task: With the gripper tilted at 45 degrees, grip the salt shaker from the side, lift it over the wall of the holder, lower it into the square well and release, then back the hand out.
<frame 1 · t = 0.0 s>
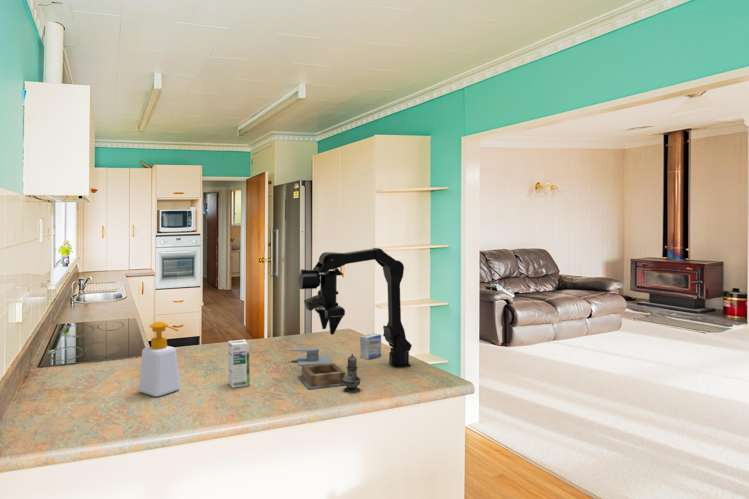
hand: (328, 331, 195), 15 cm above the countertop, tool pointing down, fingers open, 9 cm apart
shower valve: (310, 362, 210), on the countertop
syrup box: (238, 385, 181), on the countertop
medicine box: (370, 357, 218), on the countertop
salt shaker: (351, 390, 177), on the countertop
holder: (322, 381, 186), on the countertop
soap bottle: (164, 393, 172), on the countertop
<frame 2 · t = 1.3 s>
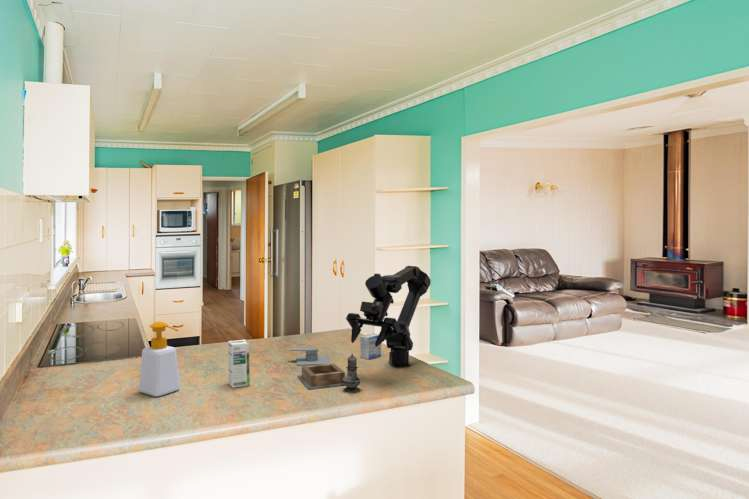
hand: (363, 344, 183), 13 cm above the countertop, tool tilted 45°, fingers open, 9 cm apart
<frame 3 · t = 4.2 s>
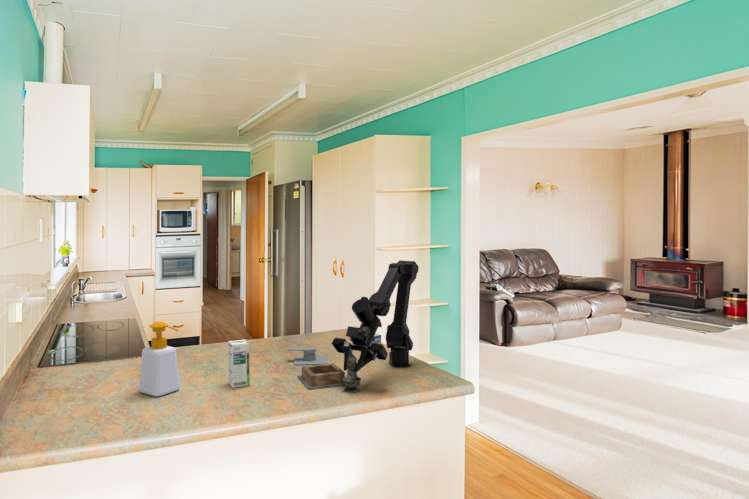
hand: (349, 370, 176), 7 cm above the countertop, tool tilted 45°, fingers closed on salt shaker, 4 cm apart
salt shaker: (351, 390, 177), on the countertop, touching gripper
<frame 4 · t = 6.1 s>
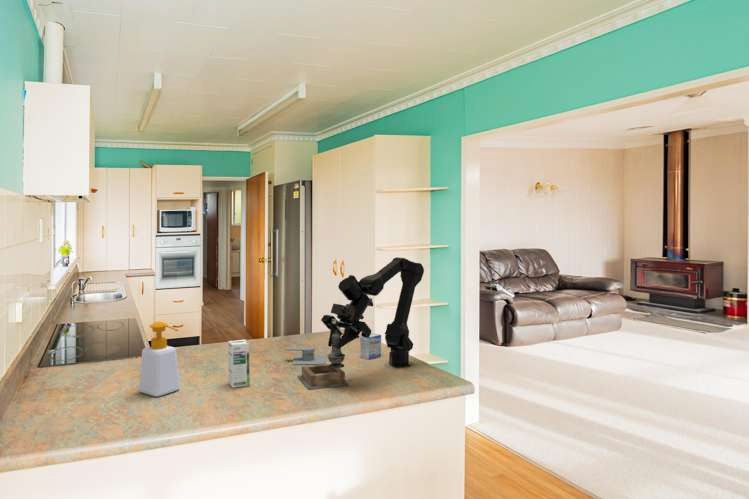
hand: (333, 347, 179), 13 cm above the countertop, tool tilted 45°, fingers closed on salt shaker, 4 cm apart
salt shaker: (336, 366, 181), point 6 cm above the countertop, touching gripper
when the fingers open (8 cm above the countertop, at t = 8.1 s): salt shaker drops 1 cm, resting on holder.
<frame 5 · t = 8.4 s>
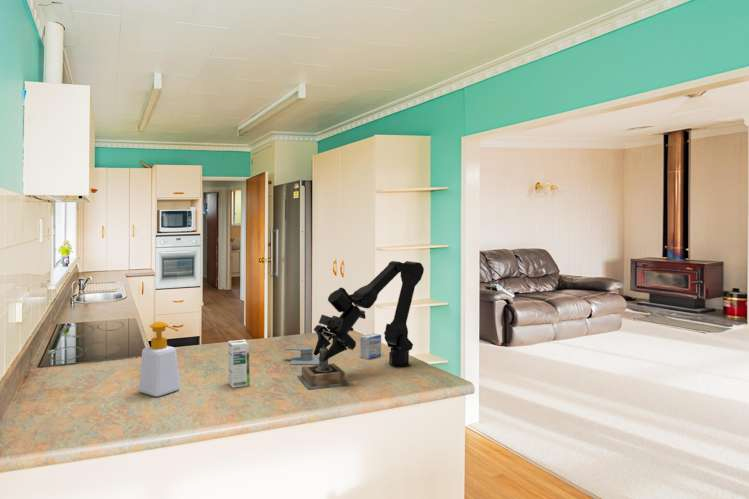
hand: (319, 356, 184), 9 cm above the countertop, tool tilted 45°, fingers open, 6 cm apart
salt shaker: (323, 380, 186), resting on holder
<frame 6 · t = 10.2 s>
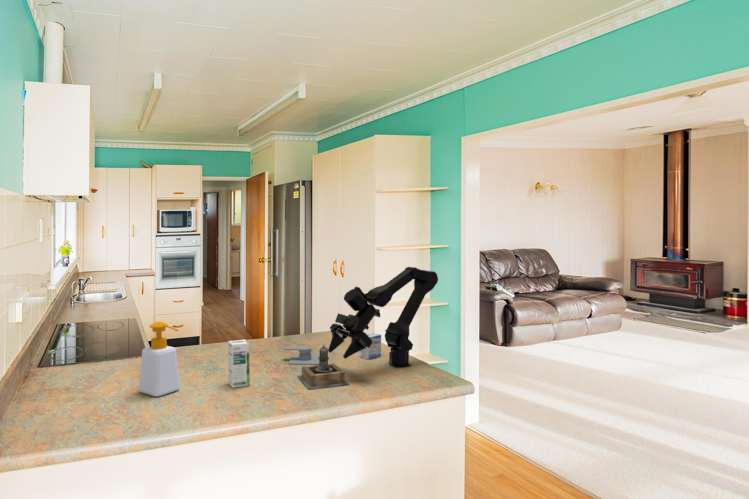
hand: (336, 354, 189), 8 cm above the countertop, tool tilted 45°, fingers open, 9 cm apart
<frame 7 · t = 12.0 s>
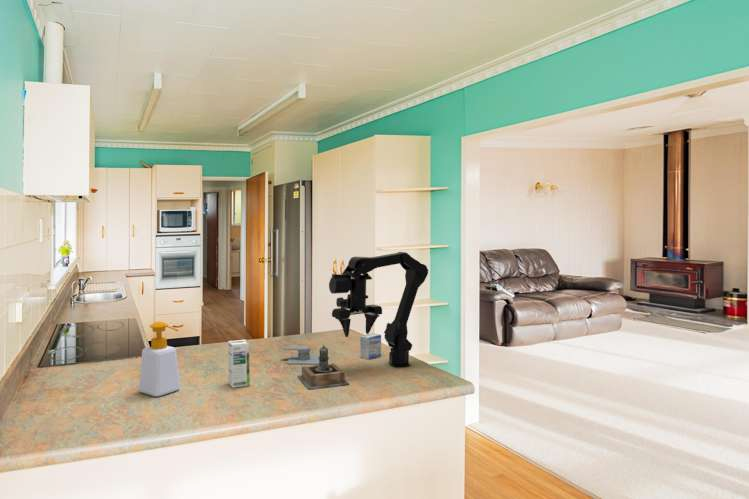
hand: (357, 335, 197), 13 cm above the countertop, tool pointing down, fingers open, 9 cm apart
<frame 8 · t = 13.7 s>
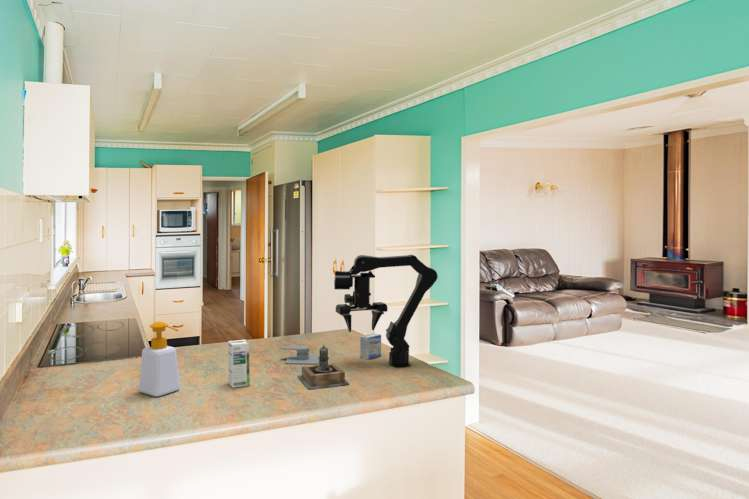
hand: (361, 331, 204), 13 cm above the countertop, tool pointing down, fingers open, 9 cm apart
at the end: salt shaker 0.2 cm off-centre on the holder, point 0.3 cm above the holder's base; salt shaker tilted 0°; the gripper is holding nothing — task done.
